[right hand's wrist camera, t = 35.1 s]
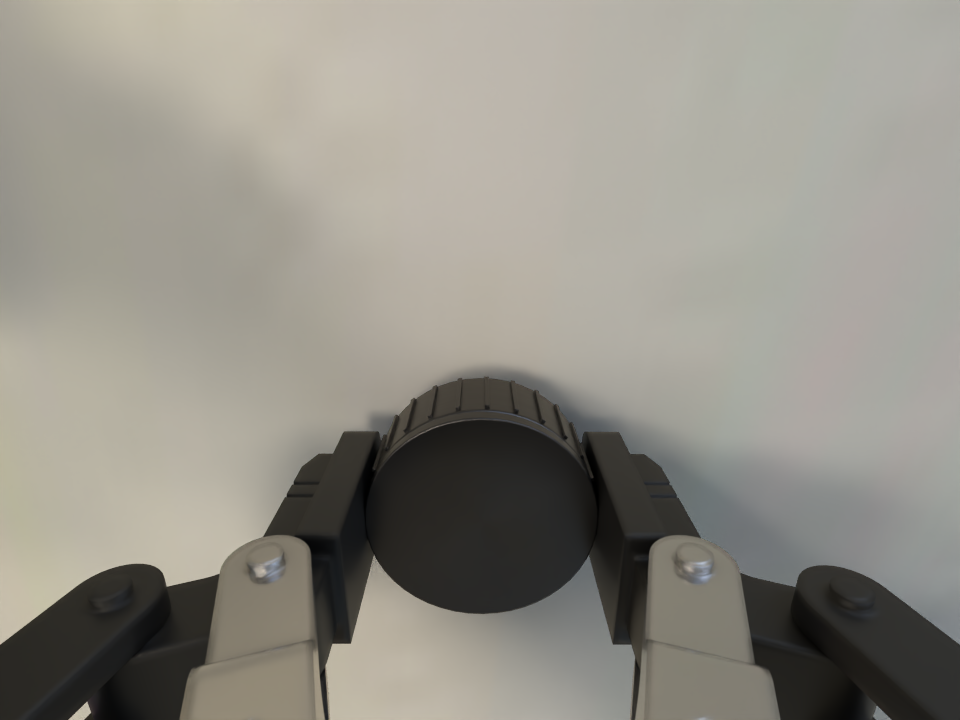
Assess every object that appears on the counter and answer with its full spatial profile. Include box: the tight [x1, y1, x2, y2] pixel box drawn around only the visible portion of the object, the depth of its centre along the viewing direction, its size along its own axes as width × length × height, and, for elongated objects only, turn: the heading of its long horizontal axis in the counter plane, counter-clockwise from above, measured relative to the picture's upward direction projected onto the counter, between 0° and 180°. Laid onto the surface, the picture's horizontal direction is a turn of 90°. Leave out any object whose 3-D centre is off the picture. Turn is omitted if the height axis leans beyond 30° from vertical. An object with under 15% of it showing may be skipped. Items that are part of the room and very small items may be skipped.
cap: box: [365, 377, 598, 614], centre depth 11 cm, size 4×4×2 cm
